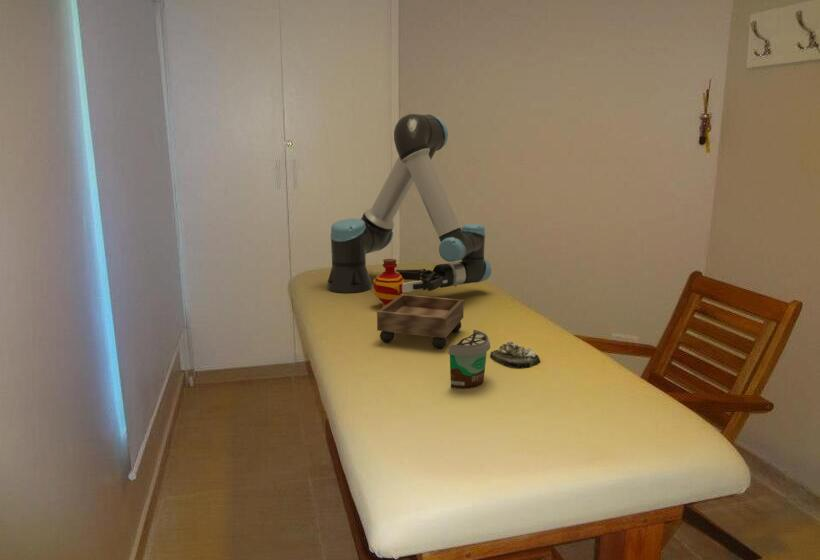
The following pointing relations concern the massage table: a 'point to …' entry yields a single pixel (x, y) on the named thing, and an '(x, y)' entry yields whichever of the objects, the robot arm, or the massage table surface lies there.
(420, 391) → the massage table surface
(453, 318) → the dolly
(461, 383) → the food container
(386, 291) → the potion bottle
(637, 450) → the massage table surface
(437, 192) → the robot arm
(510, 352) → the grey lumpy piece
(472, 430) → the massage table surface
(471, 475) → the massage table surface
